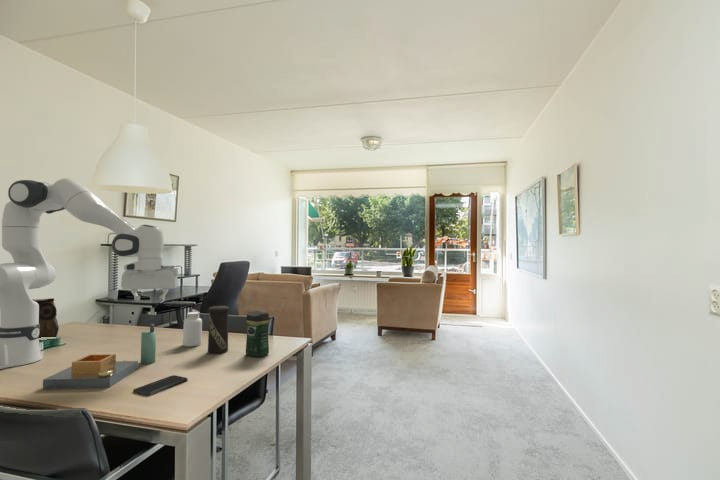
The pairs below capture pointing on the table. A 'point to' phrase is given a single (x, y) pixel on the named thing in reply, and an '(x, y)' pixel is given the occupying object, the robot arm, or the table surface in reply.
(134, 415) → the table surface
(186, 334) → the pill bottle
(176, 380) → the phone
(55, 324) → the owl
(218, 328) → the container
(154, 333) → the spout can
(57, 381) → the wooden box with base
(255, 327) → the coffee jar
